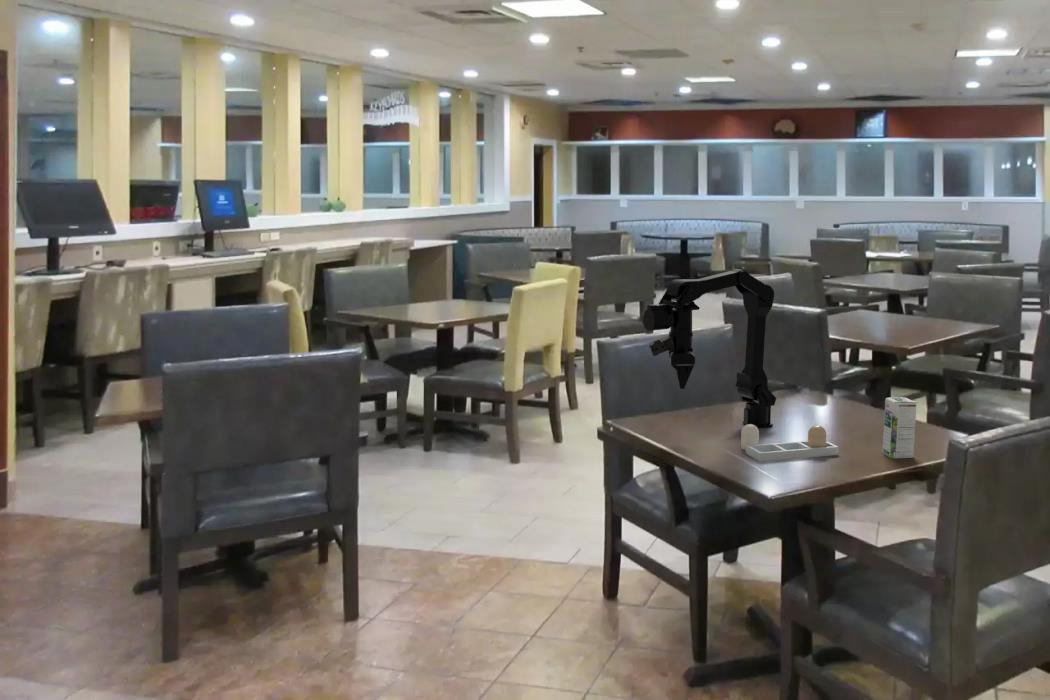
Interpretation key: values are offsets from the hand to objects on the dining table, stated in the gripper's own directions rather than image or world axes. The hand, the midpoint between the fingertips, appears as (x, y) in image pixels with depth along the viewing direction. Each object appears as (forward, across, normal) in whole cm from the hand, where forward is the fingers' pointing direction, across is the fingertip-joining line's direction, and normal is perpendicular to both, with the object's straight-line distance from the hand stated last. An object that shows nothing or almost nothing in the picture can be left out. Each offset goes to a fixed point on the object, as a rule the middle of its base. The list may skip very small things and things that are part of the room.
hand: (681, 385), depth 277 cm
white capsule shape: (+14, +14, +17) cm, 26 cm away
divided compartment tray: (+14, +19, +26) cm, 36 cm away
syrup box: (+14, +19, +52) cm, 57 cm away
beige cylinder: (+14, +17, +33) cm, 39 cm away
